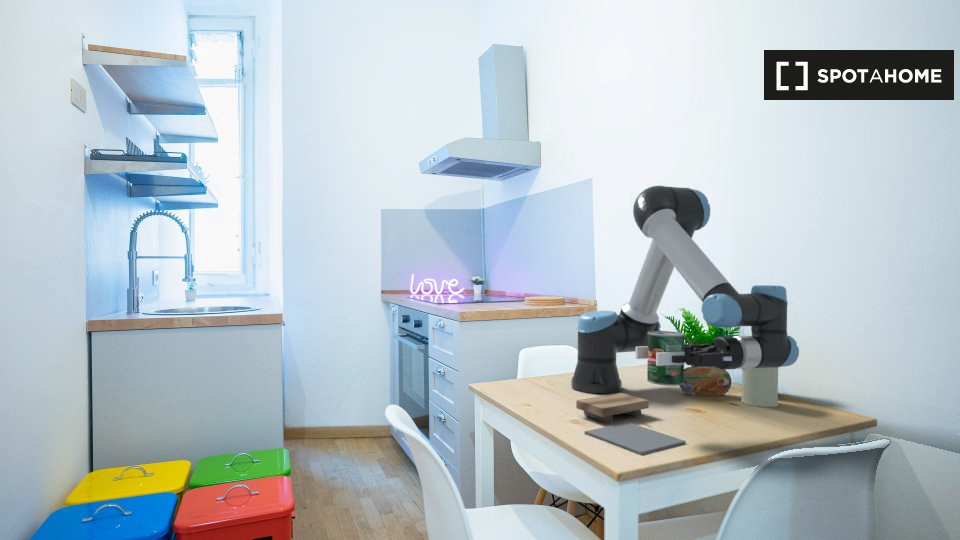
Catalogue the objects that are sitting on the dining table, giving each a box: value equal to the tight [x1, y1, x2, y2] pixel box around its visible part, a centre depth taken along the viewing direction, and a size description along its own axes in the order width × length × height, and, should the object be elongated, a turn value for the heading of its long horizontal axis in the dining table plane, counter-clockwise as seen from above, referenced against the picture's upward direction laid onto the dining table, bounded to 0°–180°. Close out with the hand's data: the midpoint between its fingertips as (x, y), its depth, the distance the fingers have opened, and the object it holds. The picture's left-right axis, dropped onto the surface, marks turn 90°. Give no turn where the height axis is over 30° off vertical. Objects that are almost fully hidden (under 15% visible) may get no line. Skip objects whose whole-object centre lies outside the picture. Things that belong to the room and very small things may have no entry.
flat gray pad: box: [584, 422, 687, 456], centre depth 121 cm, size 16×14×1 cm
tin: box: [678, 366, 732, 397], centre depth 163 cm, size 15×3×8 cm, turn 91°
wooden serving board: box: [575, 392, 650, 424], centre depth 138 cm, size 9×16×4 cm, turn 123°
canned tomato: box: [646, 330, 686, 387], centre depth 124 cm, size 8×8×11 cm
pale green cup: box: [740, 367, 779, 408], centre depth 154 cm, size 9×9×12 cm
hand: (646, 355), depth 123 cm, fingers closed on canned tomato, 8 cm apart
